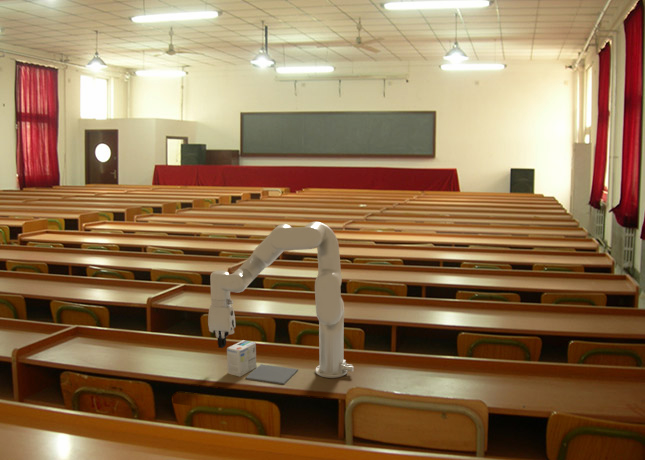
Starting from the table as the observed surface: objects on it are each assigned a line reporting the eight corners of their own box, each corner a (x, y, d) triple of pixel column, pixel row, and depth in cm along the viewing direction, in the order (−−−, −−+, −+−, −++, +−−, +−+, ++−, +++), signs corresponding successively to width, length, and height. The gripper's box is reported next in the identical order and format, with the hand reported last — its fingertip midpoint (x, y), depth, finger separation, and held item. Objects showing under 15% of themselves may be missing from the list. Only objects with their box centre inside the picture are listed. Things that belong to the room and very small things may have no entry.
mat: (297, 370, 246) (297, 369, 246) (284, 384, 233) (284, 383, 233) (261, 365, 251) (261, 364, 251) (245, 378, 238) (245, 377, 238)
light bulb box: (243, 364, 252) (243, 339, 251) (257, 367, 249) (256, 342, 247) (226, 373, 243) (226, 347, 242) (240, 377, 240) (239, 350, 238)
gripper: (242, 301, 246) (243, 345, 249) (208, 298, 250) (210, 341, 254) (233, 306, 239) (234, 352, 242) (199, 303, 243) (200, 347, 247)
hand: (222, 346), depth 248 cm, fingers closed
